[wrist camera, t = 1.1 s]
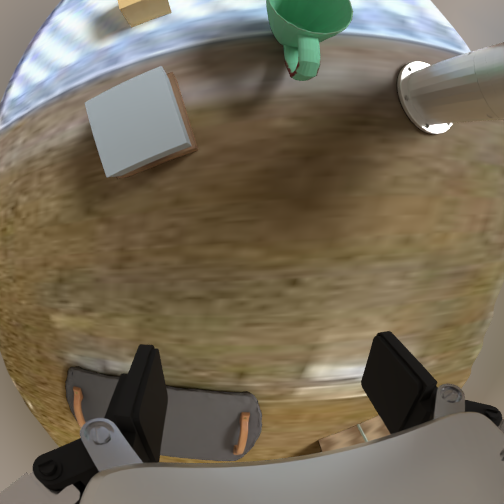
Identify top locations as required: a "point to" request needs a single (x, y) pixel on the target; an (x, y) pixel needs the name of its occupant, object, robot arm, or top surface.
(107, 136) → the slate block
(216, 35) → the top surface
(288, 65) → the mug
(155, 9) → the ochre cube
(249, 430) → the serving board
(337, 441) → the coaster caddy
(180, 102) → the walnut block
